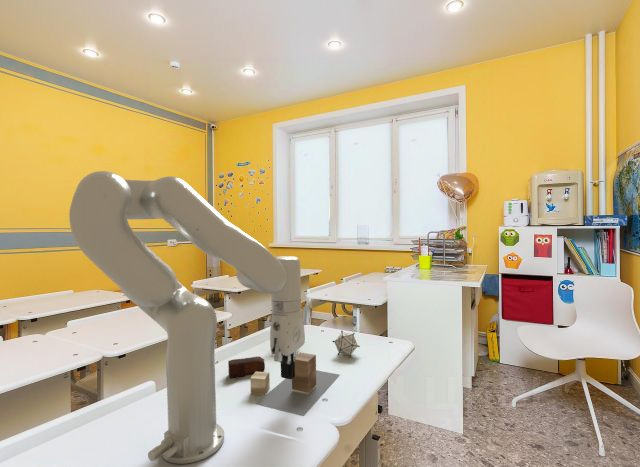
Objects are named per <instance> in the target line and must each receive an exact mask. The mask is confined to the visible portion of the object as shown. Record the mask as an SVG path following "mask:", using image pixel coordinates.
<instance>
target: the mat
mask: <svg viewBox="0 0 640 467" xmlns="http://www.w3.org/2000/svg"><path fill="white" fill-rule="evenodd" d="M340 376H341V374H339V373H334V372H333V373H332V372H328V371H322V370H317V369H316V387H315V388H314V389H313V390H312V392H311V393H310V394H309V395H308V394H303V393H299V392H294V391H292V379H286V378H284V379H283V380H282V381H281V382H280V383H279V384H278V385H276V386H275V387H273V388H272V389H271V390H269V391H268V392H267V393H266V395H265V396H263V397H262V398H260V399H259V400H258V401H257V402H256V403H255V405H257V406H261V407H266V408H270V409H273V410H274V409H275V410H278V411H283V412H286V413H290V414H294V415H298V416H302V417H304V416H306V414H307V413H308V412H309V411H310V410H311V409H312V408H313V407H314V405H315V404H316V403H317V402H318V401H319V400H320V399H321V398H322V396H323V395H324V394H325V393H326V392H327V390H328V389H329V388H330V387H331V386H332V385H333V384H334V383H335V381H336V380H337V379H338V378H339V377H340Z"/></svg>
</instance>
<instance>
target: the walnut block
mask: <svg viewBox="0 0 640 467" xmlns="http://www.w3.org/2000/svg"><path fill="white" fill-rule="evenodd" d="M294 362H295V377H294V378H292V391H294V392H299V393H303V394H308V395H309V394H310V393H311V392H312V390H313V389H314V388H315V387H316V370H317V355H316V354H314V353H313V354H312V353H307V352H298V353H296V359H295V361H294Z"/></svg>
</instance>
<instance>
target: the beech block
mask: <svg viewBox="0 0 640 467" xmlns="http://www.w3.org/2000/svg"><path fill="white" fill-rule="evenodd" d="M249 380H250V395H251V396H252V395H253V396H263V397H264V396H265V395H266V394H268V393H269V391H270V389H271V386H270V371H268V372H267V371H264V372H255V373H254V374H253V375H251V377H250V379H249Z"/></svg>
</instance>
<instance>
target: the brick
mask: <svg viewBox="0 0 640 467" xmlns="http://www.w3.org/2000/svg"><path fill="white" fill-rule="evenodd" d="M227 364H228V367H227V368H228V376H229V379H230V380H235V379H239V378H240V379H241V378H245V377H247V376H253V374H254V373H255V372H265V370H266V367H265V366H266V363H265V359H264V358H263V357H261V356H252V357H245V358H236V359H231V360H230V359H229V360H228V363H227Z"/></svg>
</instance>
